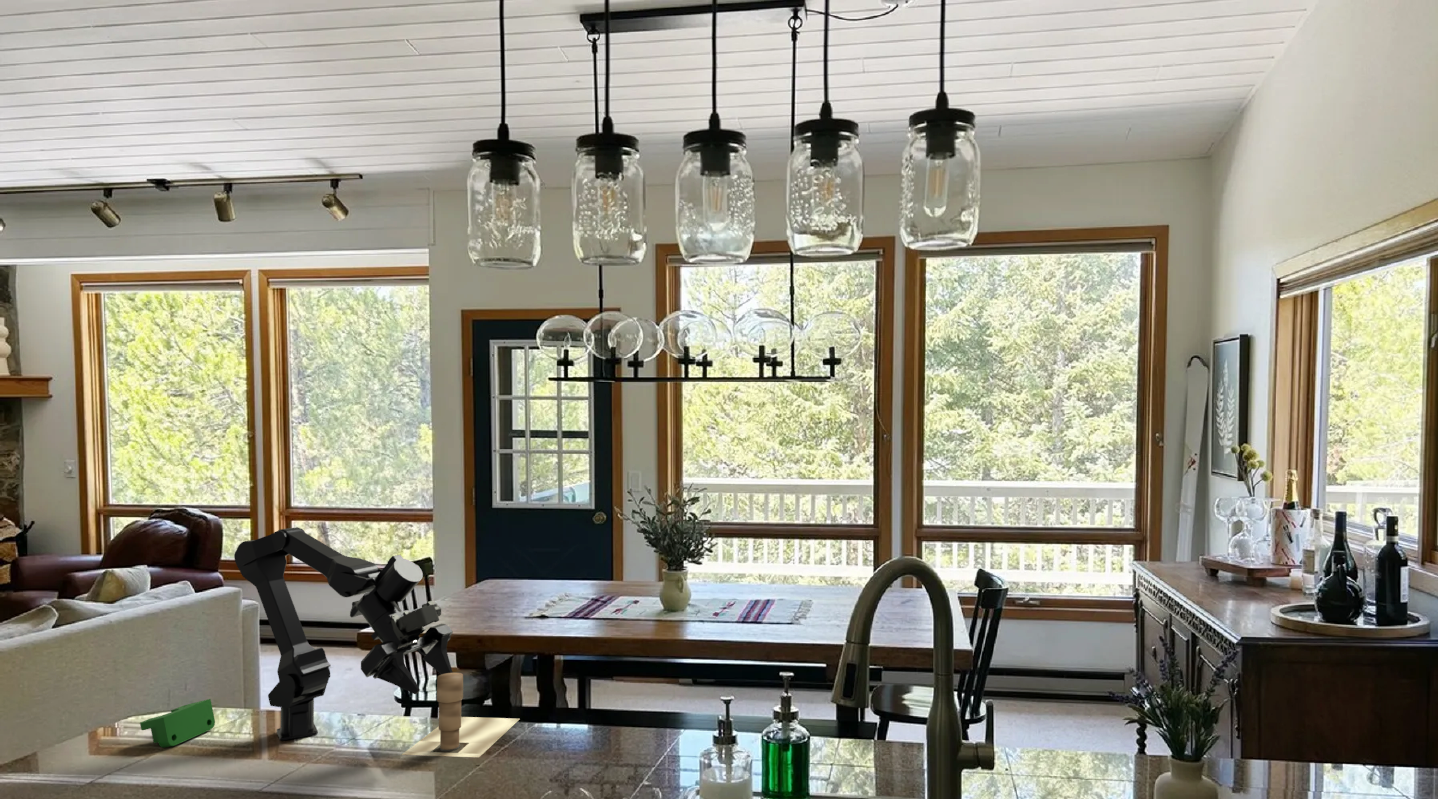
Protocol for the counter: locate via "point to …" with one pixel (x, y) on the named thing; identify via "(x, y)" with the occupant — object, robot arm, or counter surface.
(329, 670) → the robot arm
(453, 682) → the peg
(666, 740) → the counter surface
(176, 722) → the green mounting bracket
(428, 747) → the board
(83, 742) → the counter surface
